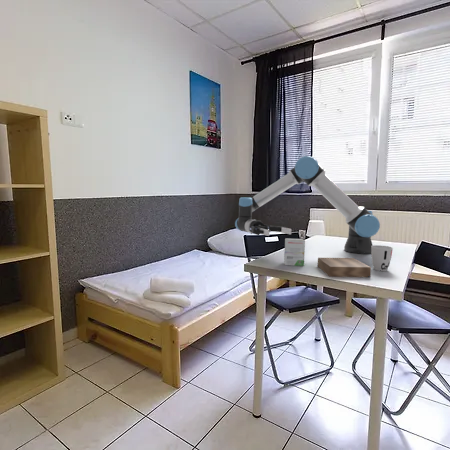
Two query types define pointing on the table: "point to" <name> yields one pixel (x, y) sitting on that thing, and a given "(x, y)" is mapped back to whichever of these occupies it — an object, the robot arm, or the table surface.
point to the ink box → (294, 252)
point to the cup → (381, 257)
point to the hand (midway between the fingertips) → (280, 232)
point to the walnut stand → (344, 267)
